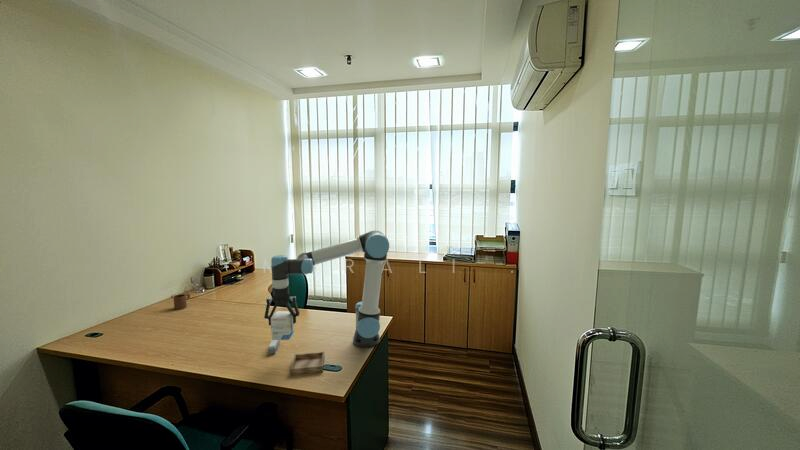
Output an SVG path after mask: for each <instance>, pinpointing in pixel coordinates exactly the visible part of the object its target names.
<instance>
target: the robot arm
mask: <svg viewBox="0 0 800 450" xmlns="http://www.w3.org/2000/svg"><path fill="white" fill-rule="evenodd" d="M389 249H390V241H389V239H388V237H387V236H386V235H384V233H383V232H381V231H379V230H371V231H368V232H366V233H363V234H360V235H357V237H356V238H353V239H349V240H346V241H343V242H339V243H336V244H333V245H328V246H325V247H322V248H318V249H316V250H312V251H308V252H302V253H300V254H299V255H298V256H297V258H294V259H293V258H292V259H289V258H288V255H285V254H280V255H275V256H272V257H271V261H270V262H271V263H270V264H271V266H270V267H271V284H272V297H267V298H266V300H265V302H266V307H265V311H264V319H267V320H268V326H271V317H272V316H273V315H274V314H275V311H276V310H277V307H279V306H285V307H286V308H287V311H289V312H290V313H291V315H292V318H291V322H292V331H294V330H295V324H296V323H297V317H299V316H300V309H299V307H298V303H297V296H296V295H294V296H291V295H290V286H289V284H290V283H289V282H290V281H289V275H291V276H292V275H309V274H313V271H314V266H315V265H319V264H322V263H326V262H329V261H332V260H336V259H339V258H343V257H346V256H350V255H353V254H356V253H357V254H358V253H364V254H363V259H364V260H365V263H366V264H365V270H364V271H365V272H364V273H365V274H364V279H363V281H364V282H363V288H362V289H363V290H362V298H361V299H362V300H361V301H359V302H357V303H356V304H355V331H354V335H353V337H352V342H353V344H354V346H356V347H358V348H371V347H374V346H377V345H378V344H379V343H380V340H381V338H380V334H379V332H380V330H381V324H380V323H381V322H380V317H381V308H379V301H380V294H381V292H380V291H381V285H382V284H381V283H382V275H383V274H382V273H383V265H384V263H385V262H386V261H387V257H388V252H389ZM290 300H291V302H292V305H293V307H292V305H291V304H290V302H289V301H290ZM272 302H273V303H274V305H273V307H272V310H271V311H270V307H271V303H272ZM269 313H270V314H269ZM270 332H271V333H272V330H271V331H270Z"/></svg>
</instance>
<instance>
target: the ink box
mask: <svg viewBox="0 0 800 450" xmlns="http://www.w3.org/2000/svg"><path fill="white" fill-rule="evenodd" d="M291 318H292V315H291V313H290V312H289V310H287V311H285V310H282V311H281V310H277V311H276V312H274V313H273V316H272V317H271V325H270V329H271V330H272V332H271V341H272V340H280V341H287V340H289V341H290V339H291V338H292V336H293V335H294V333H295V332H294V331H292V322H291Z"/></svg>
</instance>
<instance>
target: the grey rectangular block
mask: <svg viewBox="0 0 800 450" xmlns="http://www.w3.org/2000/svg"><path fill="white" fill-rule="evenodd" d="M280 341H281V340H272V339H271V341H270V343H269V344H268V348H267V353H268V354H267V355H276V353H277V351H278V349H279V347H280V346H281V345H280Z"/></svg>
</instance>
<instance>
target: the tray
mask: <svg viewBox="0 0 800 450" xmlns="http://www.w3.org/2000/svg"><path fill="white" fill-rule="evenodd" d="M324 364H325V351H319V352H318V351H316V352H307V353H305V352H303V353H296V354H295V353H294V357H293V360H292V364H291V366H290V376H296V375H307V374H316V373H323V372H324Z"/></svg>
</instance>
